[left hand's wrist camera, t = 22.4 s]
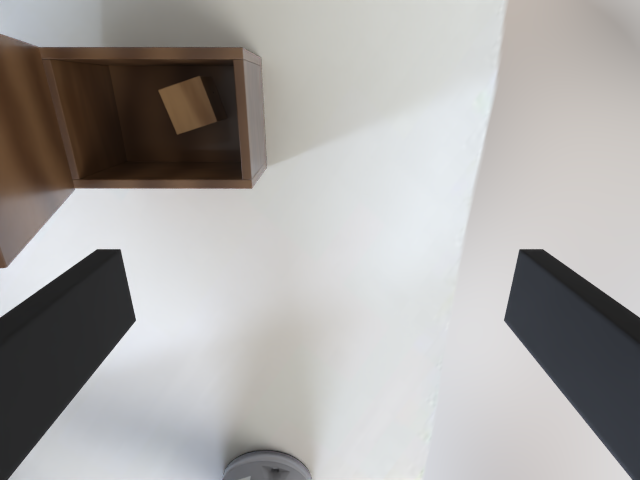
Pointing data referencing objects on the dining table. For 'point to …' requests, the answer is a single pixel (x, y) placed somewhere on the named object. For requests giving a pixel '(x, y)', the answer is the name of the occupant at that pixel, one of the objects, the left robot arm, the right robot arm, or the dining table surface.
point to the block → (193, 103)
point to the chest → (156, 117)
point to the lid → (27, 149)
